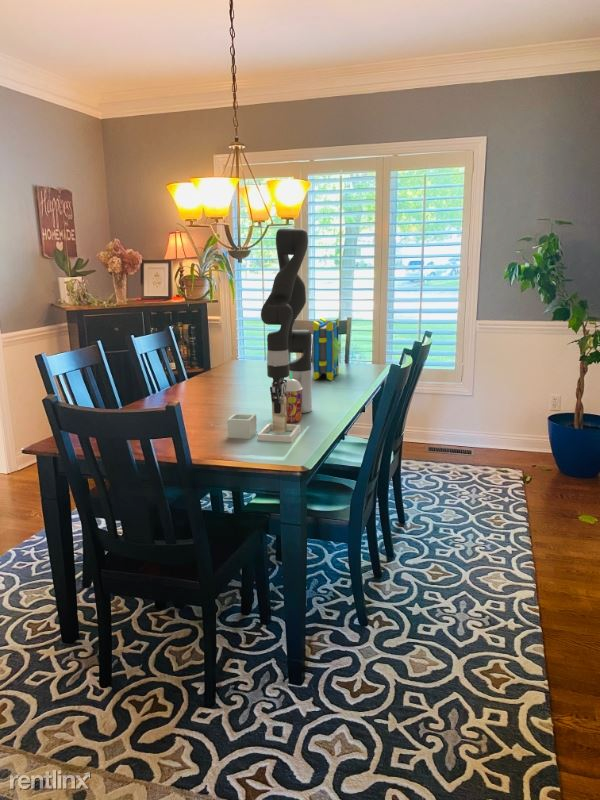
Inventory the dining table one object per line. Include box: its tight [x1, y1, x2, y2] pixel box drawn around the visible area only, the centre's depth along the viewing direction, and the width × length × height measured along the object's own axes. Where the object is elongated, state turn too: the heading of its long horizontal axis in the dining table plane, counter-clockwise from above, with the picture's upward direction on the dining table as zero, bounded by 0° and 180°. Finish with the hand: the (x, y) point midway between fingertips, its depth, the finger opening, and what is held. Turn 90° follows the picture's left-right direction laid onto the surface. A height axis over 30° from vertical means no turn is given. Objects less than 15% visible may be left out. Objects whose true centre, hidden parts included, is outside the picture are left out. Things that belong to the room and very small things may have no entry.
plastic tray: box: [256, 422, 302, 443], centre depth 206 cm, size 14×12×3 cm
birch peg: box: [271, 397, 288, 434], centre depth 204 cm, size 4×4×12 cm
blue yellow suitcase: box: [312, 317, 341, 382], centre depth 306 cm, size 14×23×30 cm, turn 166°
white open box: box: [226, 413, 258, 440], centre depth 206 cm, size 8×8×8 cm
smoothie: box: [285, 371, 303, 424], centre depth 222 cm, size 8×8×20 cm
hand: (279, 411), depth 204 cm, fingers closed on birch peg, 4 cm apart
